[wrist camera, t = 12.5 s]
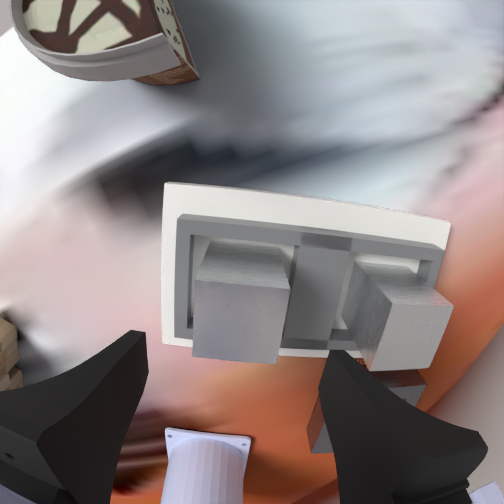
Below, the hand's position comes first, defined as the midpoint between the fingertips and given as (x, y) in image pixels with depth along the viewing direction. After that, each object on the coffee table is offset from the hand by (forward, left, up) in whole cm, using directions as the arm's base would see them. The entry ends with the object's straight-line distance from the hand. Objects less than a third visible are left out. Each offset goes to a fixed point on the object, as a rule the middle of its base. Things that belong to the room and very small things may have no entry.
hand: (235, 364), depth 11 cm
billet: (0, 0, -8) cm, 8 cm away
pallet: (0, -5, -9) cm, 10 cm away
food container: (+15, +8, -10) cm, 20 cm away
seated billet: (0, -9, -8) cm, 12 cm away
